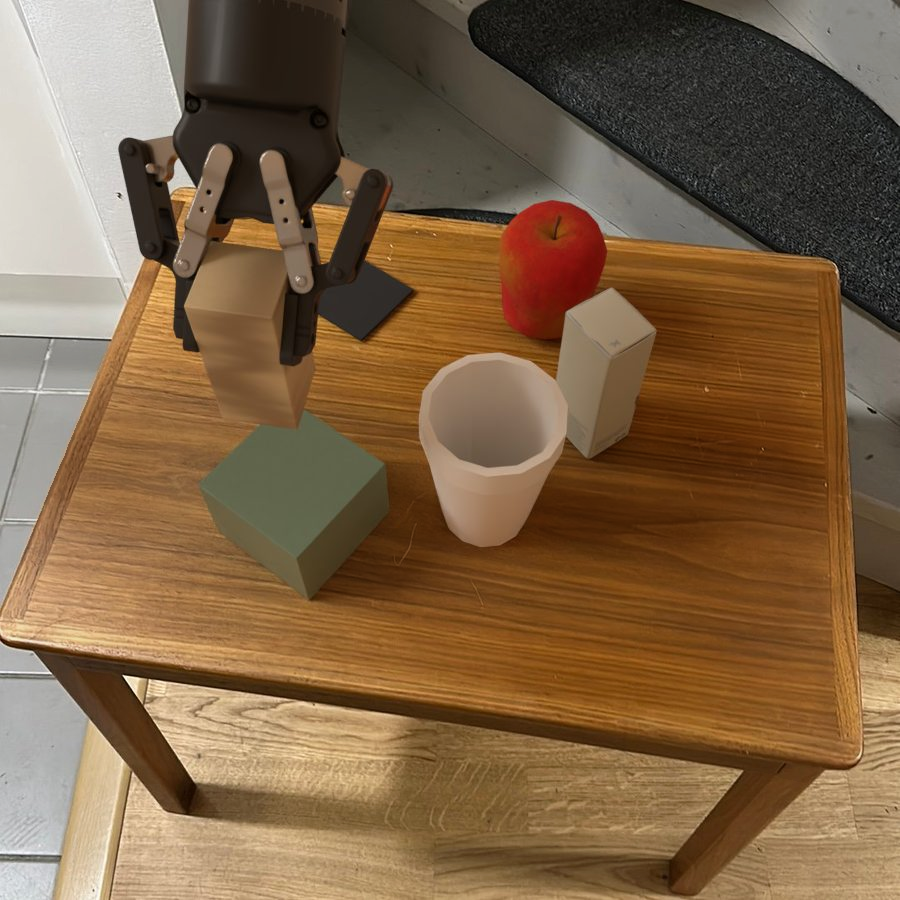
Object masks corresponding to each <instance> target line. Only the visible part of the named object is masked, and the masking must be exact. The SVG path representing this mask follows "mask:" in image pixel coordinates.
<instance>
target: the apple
mask: <svg viewBox="0 0 900 900" xmlns="http://www.w3.org/2000/svg"><path fill="white" fill-rule="evenodd" d="M604 237H605V236H604V235H603V233H602V230H601V227H600V225H599V223H598V222H597V221H596V219H595V218H594V217H592V215H591V214H590V213H589V212H588V211H587V210H585V209H583V208H581V207H579V206H577V205H576V204H574V203H572V202H567V201H561V200H555V199H550V200H546V201H540V202H536V203H533V204H532V205H530V206H528V207H527V208H525V209H523V210H521V211H520V212H519V213H517V214H516V216H514V217H513V218H512V219H511V220H510V222H509V223H508V225H507V226H506V227H505V229H504V230H503V231H502V233H501V234H500V241H499V247H498V248H499V249H498V269H499V275H500V276H499V277H500V283H501V309H502V312H503V318H504V320H505V321H506V322H507V323H508V325H509V326H510V327H511V328H512V329H513V331H516V332H517V333H520V334H521V335H523V336H525V337H527V338H532V339H538V340H539V339H541V340H553V339H562V336H563V329H564V321H565V314H566V311H568V310H570V309H571V308H573V307H575V306H577V305H579V304H580V303H582V302H584V301H586V300H588V299H590V298H592V297H593V296H594V294H595V291H596V289H597V287H598V284H599V282H600V280H601V277H602V274H603V272H604V268H605V265H606V260H607V255H608V248H607V244H606V241H605V238H604Z"/></svg>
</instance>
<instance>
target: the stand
mask: <svg viewBox="0 0 900 900" xmlns="http://www.w3.org/2000/svg"><path fill="white" fill-rule="evenodd" d="M197 487H198V489H199V492H200V495H201V497H202V498H203V501H204V503H205V505H206V508H207V510H208V512H209V514H210V516H211V519H212V521H213V523H214V525H215V527H216V529H217V532H218V533H220V534H221V535H222V536H223V537H225V538H226V539H227V540H229V541H230V542H231V543H232V544H234V545H235V546H236V547H238V548H239V549H241V550H242V551H243V552H245V553H246V554H247V555H249V556H250V557H251V558H252V559H253V560H254V561H256V562H258V563H259V564H260V565H261V566H262V567H264V568H266V569H267V570H268V571H270V572H271V573H272V574H273V575H274V576H276V577H277V578H279V579H280V580H281V581H282V582H283V583H285V584H286V585H287V586H289V587H290V588H292V589H293V591H296V592H297V593H298V594H299V595H301V596H302V597H303V598H305V599H306V600H307V601H310V600H312V598H314V596H315V595H316V594H317V593H318V592H319V590H321V588H322V587H323V586H324V585H325V584H326V583H327V582H328V581H329V580H330V578H331V577H333V576H334V574H335V573H336V572H337V571H338V570H339V569H340V567H341V566H343V564H345V562H346V561H347V559H348V558H350V556H351V555H352V554H353V553H354V552H355V551H356V550H357V549H358V547H359V546H361V544H362V543H363V542H364V540H366V539H367V538H368V536H369V535H371V533H372V532H373V531H374V530H375V528H377V526H378V525H379V524H380V523H381V522H382V521H383V520H384V519H385V518H386V516H387V515H388V514H389V513H390V500H389V490H388V489H389V488H388V479H387V468H386V463H385V462H384V461H382V460H381V459H380V458H377V457H376V456H375V455H373V454H371V453H370V452H368V451H367V450H366V449H364V448H363V447H361V446H360V445H358V444H357V443H355V442H354V441H353V440H351V439H350V438H348V437H346V436H345V435H343V434H342V433H341V432H340V431H338V430H337V429H335V428H334V427H332V426H330V425H329V424H327V423H326V422H324V421H323V420H321V419H320V418H318V417H317V416H316V415H314V414H313V413H311V412H309V410H307V409H305V408H304V410H303V414H302V417H301V420H300V424H299V427H298V429H297V430H295V429H288V428H281V427H275V426H268V425H261V424H258V426H257V427H256V428H255V429H253V430H252V432H251V433H249V434H248V435H247V436H246V437H245V438H244V439H243V440H242V441H241V442H240V443H239V444H238V445H237V446H236V447H235V448H233V449H232V451H230V452H229V453H228V454H227V455H226V456H225V458H223V459H222V460H221V461H220V462H219V463H218V464H216V466H215V467H214V468H213V469H212V470H211V471H209V472H208V473H207V474H206V475H205V477H203V478H202V479H201V480H200V481H199V482H198V483H197Z"/></svg>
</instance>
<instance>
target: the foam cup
mask: <svg viewBox="0 0 900 900" xmlns="http://www.w3.org/2000/svg"><path fill="white" fill-rule="evenodd" d="M567 413H568V405H567V403H566V401H565V399H564V397H563V395H562V393H561V391H560V389H559V387H558V385H557V383H556V378H553V376H551V375H549V374H548V373H547V372H546V371H545V370H543V369H542V368H540V366H538V365H537V364H535V363H534V362H533V361H531V360H528V359H525V358H522V357H517V356H515V355H511V354H507V353H504V352H500V351H499V352H489V353H488V352H487V353H476V354H467V355H465V356H463V357H461V358H459V359H457V360H455V361H453V362H451V363H449V364H447V365H445V366H443V367H441V368H440V369H439V370H438V371H437V373H436V374H435V375H434V376H433V378H432V379H431V380H430V381H429V383H428V384H427V385H426V386H425V388H424V389H423V390H422V395H421V401H420V407H419V414H418V438H419V441H420V443H421V446H422V449H423V452H424V454H425V457H426V459H427V462H428V464H429V468H430V471H431V475H432V479H433V483H434V487H435V490H436V494H437V499H438V501H439V506H440V509H441V512H442V515H443V516H444V521H445V523H446V525H447V528H448V530H449V531H451V533H453V534H454V535H455V537H457V538H458V539H459V540H460V541H462V542H463V543H466V544H470V545H473V546H475V547H479V548H486V547H487V548H488V547H496V546H497V547H498V546H501V545H503V544H505V543H507V542H508V541H510V540H512V539H514V538H515V537H517V535H518V534H519V532H520V531H521V529H522V528H523V526H524V525H525V523H526V521H527V519H528V518H529V515H530V514H531V512H532V510H533V508H534V505H535V503H536V501H537V499H538V497H539V495H540V493H541V492H542V489H543V486H544V485H545V482H546V480H547V479H548V476H549V474H550V473H551V470H552V469H553V467H554V466H555V465H556V463H557V462H558V460H559V459H560V458H561V455H562V454H563V451H564V446H565V441H566V438H567V437H566V431H567Z"/></svg>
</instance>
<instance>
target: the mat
mask: <svg viewBox="0 0 900 900" xmlns="http://www.w3.org/2000/svg"><path fill="white" fill-rule="evenodd" d="M414 292H415V290H414V288H412V287H411V286H410V285H407V284H406V283H403V282H402V281H401V280H399V279H397V278H395V277H394V276H392V275H391V274H388V273H387V272H385V271H383V270H382V269H380V268H378V267H377V266H375V265H374V264H371V263H370V262H368V261H367V260H365V261H364V263H363V266H362V268H361V271H360V273H359V276H358V278H357V279H356V281H354V282H353V283H349V284H344V285H340V286H334V287H330V288H327V289H326V290H324V291H323V293H322V294H321V296H320V300H319V311H318V316H320V317H321V318H322V319H324V320H326V321H328V322H329V323H331V324H332V325H334V326H336V327H337V328H339V329H340V330H342V331H343V332H345V333H347V334H348V335H350V336H352V337H353V338H355V339H356V340H358V341H359V342H362V343H363V342H364V341H365V340H366V339H367V338H368V337H369V336H370V335H371V334H372V333H373V332H374V331H375V330H376V329H378V327H379V326H380V325H382V324H383V323H384V322H385V321H386V320H387V319H388V317H390V316H391V315H392V314H393V313H394V312H395V311H396V310H397V309H398V308H399V307H401V305H402V304H403V303H404V302H405V301H406V300H407V299H408V298H409V297H410V296H411V295H412V294H413V293H414Z"/></svg>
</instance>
